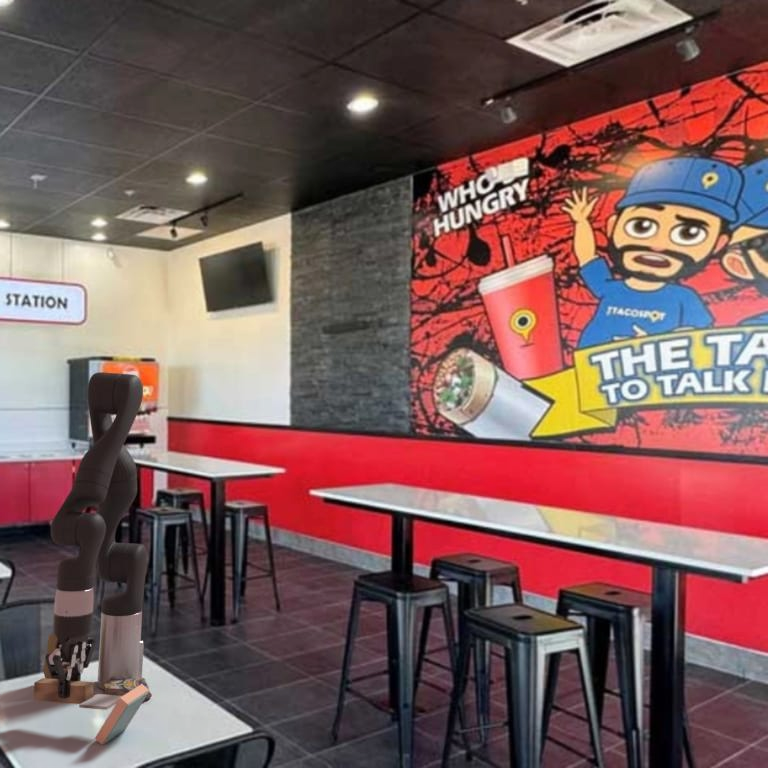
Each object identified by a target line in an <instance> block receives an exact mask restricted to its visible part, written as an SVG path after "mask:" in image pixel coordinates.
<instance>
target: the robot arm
mask: <svg viewBox="0 0 768 768" xmlns="http://www.w3.org/2000/svg"><path fill="white" fill-rule="evenodd" d="M86 393H87V406H88V414H89V421H90V427H91V434H92V442H93V443H92V444H93V445H92V446H90V448H89V449H88V450H87V452H85V454H84V455H83V457H82V458H81V460H80V462H79V465H78V467H77V471H76V475H75V478H74V481H73V484H72V488H71V490H70V491H69V493H68V494H67V495H66V497H65V499H64V501H63V503H62V504H61V506H60V508H59V509H58V511H57V512H56V514H55V516H54V517H53V518H52V519H53V520H52V523H51V525H50V536H51V539H52V541H53V542H54V544H56V545H58V546H61V547H71V548H72V547H74V548H75V547H76V548H80V551H79V554H78V555H77V556H72V557H71V556H70V557H67V558H63V559H62V560H60V562H59V563H58V566H57V578H56V579H57V581H56V590H55V591H56V592H55V596H54V608H53V623H52V633H54V635H56V637H57V643H56V646H55V651H54V652H53V653H52V654H47V655H46V654H45V658H44V660H45V659H46V662H47V666H48V669H49V672H50V675H51V678H52V679H58V681H59V684H58V696H59V698H64V699H67V698H68V697H69V696H70V685H71V681H81V678H82V677H81V676H82V674H83V673H84V669H88V667H90V662H91V659H92V655H93V652H94V649H95V647H96V643H97V639H96V638H93V637H89V634H91V632H93V621H94V605H95V604H94V603H95V602H94V601H95V594H94V586H95V585H94V582H95V567H96V571H97V572H96V573H97V576H98V578H99V579H100V580H101V581H102V582H106V583H118V584H119V583H121V584H127V587H126V589H125V590H124V591H122V592H119V593H117V594H113V595H110V596H107V597H106V598H103V600H102V603H101V615H100V631H99V632H100V633H99V635H100V637H99V650H98V651H99V652H98V665H97V666H98V668H97V683H96V684H97V685H96V686H97V687H98V688H99V689H101V690H104V691H105V685H104V682H107V681H113V680H123V679H132V678H143V665H144V663H143V662H144V646H145V645H144V643H145V642H144V640H141V639H142V636H141V635H142V621H143V617H142V616H143V605H144V597H145V596H144V595H145V584H146V583H145V582H146V573H147V564H148V552H147V548H146V546H145V545H143V544H141V543H128V542H126V543H125V542H116V531H117V528H118V526H119V524H120V521H122V519H123V518H124V515H125V514H126V513H127V511H128V510H129V509H130V507H131V506H132V504H133V502H134V501H135V498H136V497H137V494H138V474H137V472H138V471H137V465H136V463H135V460H134V458H133V456H132V455H131V454H130V452H129V451H128V449H127V447H126V446H125V442H126V440H127V438H128V436H129V434H130V432H131V429H132V426H133V425H134V422H135V420H136V417H137V416H138V413H139V411H140V407H141V405H142V402H143V397H144V396H143V395H144V385H143V382H142V380H141V378H140V377H139V376H138V375H136V374H129V373H117V372H95V373H93V374H92V375H91V376H90V378H89V381H88V385H87V391H86ZM112 415H115V418H114V419H113V418H112ZM92 506H96V513H95V512H83V511H84V510H85V509H87V508H88V507H92ZM63 661H64V662H69V663H64V662H63ZM63 668H66V673H65V672H64V669H63ZM56 671H57V672H56Z"/></svg>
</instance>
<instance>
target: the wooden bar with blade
mask: <svg viewBox="0 0 768 768" xmlns="http://www.w3.org/2000/svg"><path fill="white" fill-rule="evenodd" d="M33 684H34V686H33V688H34V689H33V691H34V692H33V696H34V698H33V700H34V701H39V702H50V703H52V702H53V703H64V704H75V705H76V704H77V705H78V707H79V708H80V709H81V708H82V709H92V710H93V709H94V710H103V711H107V710H108V709H110V708H112V707H115V705H116V703H117V702H118V700H119V699H120V697H122V696H117V695H105V693H103V694H102V693H97V694H95V695H94V681H85V680H84V681H83V680H82V681H71V685H70V696H69V697H68V698H67V699H64V698H59V696H58V684H59V681H58V679H47V678H45V677H43V678H39V679H38V680H36V681H34V683H33Z"/></svg>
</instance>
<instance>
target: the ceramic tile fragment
mask: <svg viewBox="0 0 768 768" xmlns="http://www.w3.org/2000/svg"><path fill="white" fill-rule="evenodd" d="M141 684H143V685H144V686H145V687H146V688H148V689H149V693H148V694H147V696H146V698H145V699H144V701H146V700H147V699H148V700H150V699H151V698H152V696H153V695H152V693H151V691H150V688H149V685H148V683H147V681H146V678H144V677H142V678H132V679H123V680H113V681H107V682H104V685H105V690H104V695H117V696H123V695H125V694H127V693H128V692H130V691H131V690H133V689H135V688H136V687H138V686H139V685H141Z"/></svg>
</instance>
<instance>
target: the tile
mask: <svg viewBox="0 0 768 768" xmlns="http://www.w3.org/2000/svg"><path fill="white" fill-rule="evenodd" d="M149 691H150V688H149V689H148V688H146V687H145V686H144V685H143V684H141V685H139V686H138V687H136V688H135V689H133V690H131V691H130V692H128V693H127V694H125V695H123V696H122V697H120V699H119V700H118V702H117V703H116V704H115V705H114V706H113V708H112V710H111V712H110V713H109V714H108V716H107V718H106V719H105V721H104V722H103V725H102V726H101V727H100V729H99V731H98V732H97V734H96V735H95V737H94V739H95V740H96V741H97V742H98V744H100V745H101V746H102V745H106V744H107V743H108V742H110V741H111V740H112V739H114V738H115V737H117V736H118V735H120V734H122V732H124V731H125V730H126V729H127V728H128V726H129V724H130V723H131V722H132V720H133V718H134V717H135V716H136V714H137V712H138V710H139V708H140V707H141V706H142V704H143V702H145V700H144V699H145V698H146V696H147V694H148V693H149Z"/></svg>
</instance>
